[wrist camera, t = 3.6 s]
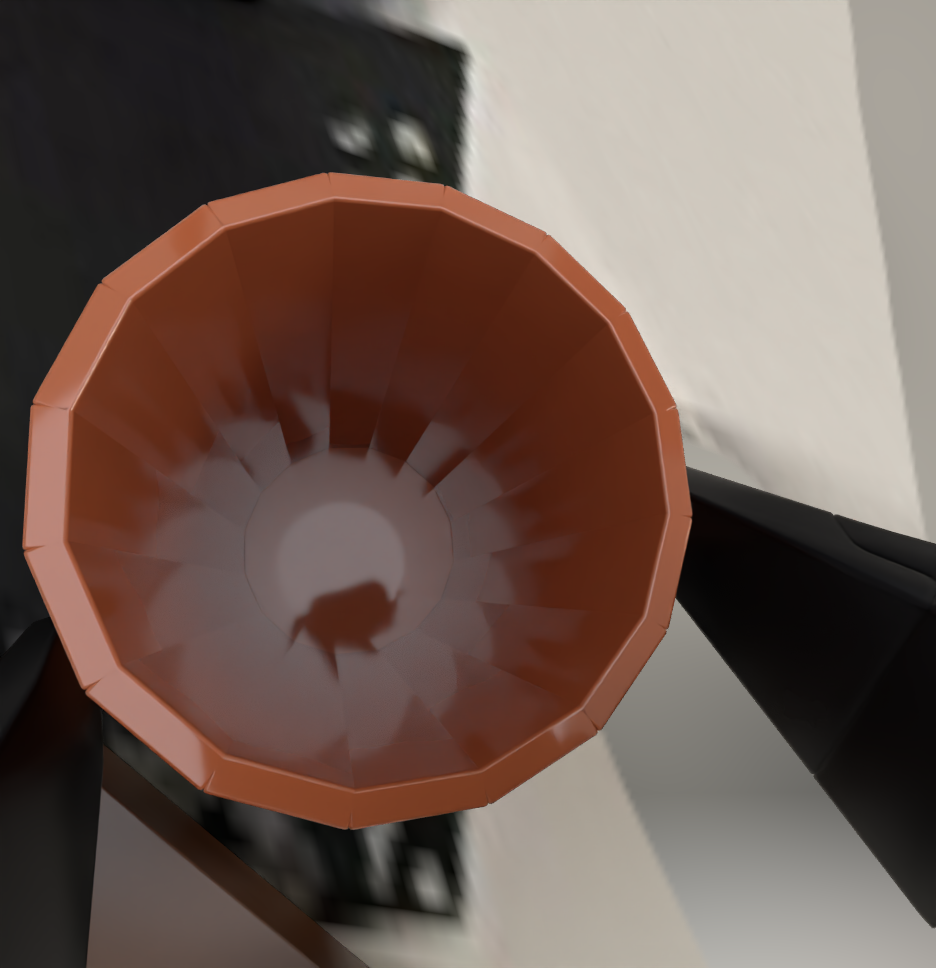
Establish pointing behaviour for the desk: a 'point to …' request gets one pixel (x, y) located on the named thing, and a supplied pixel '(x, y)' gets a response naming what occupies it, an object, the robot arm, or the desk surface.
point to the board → (186, 893)
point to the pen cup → (356, 500)
